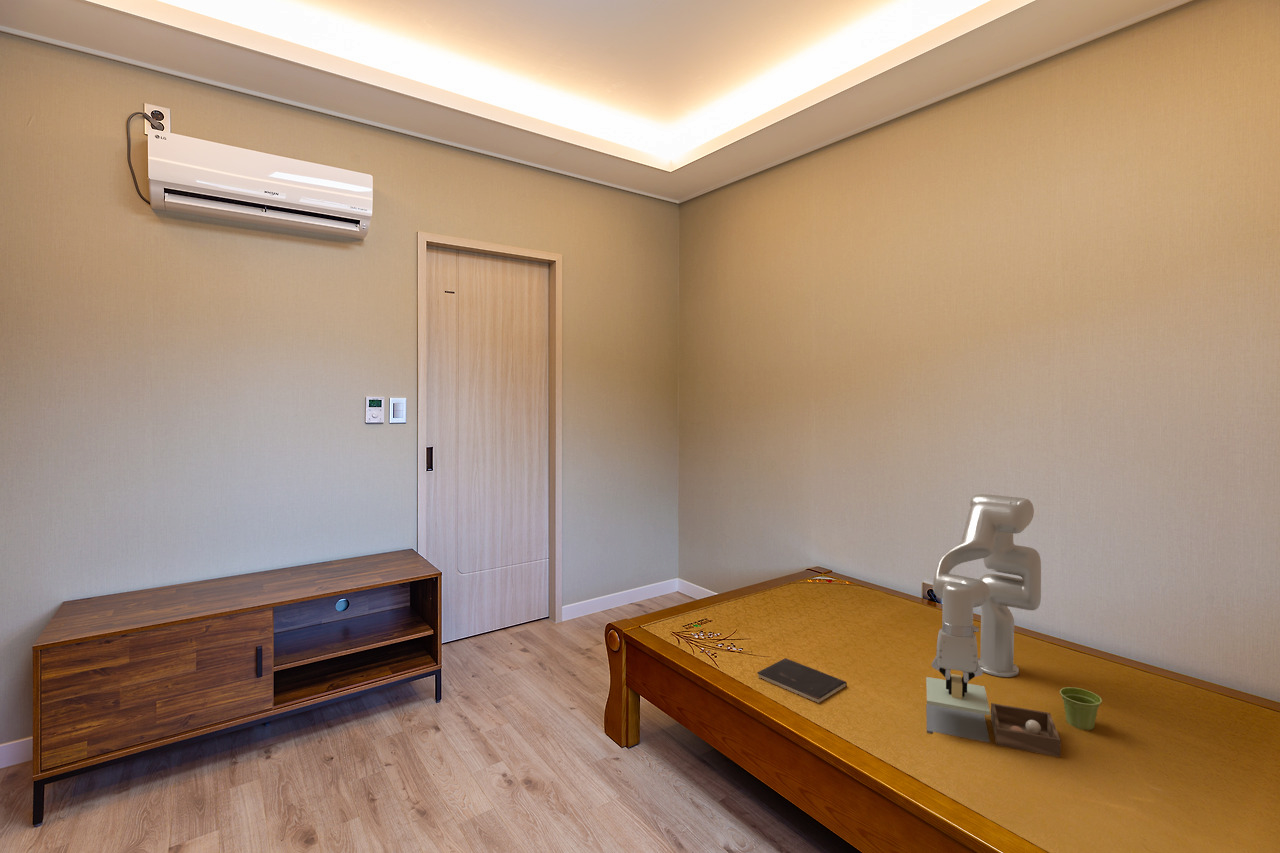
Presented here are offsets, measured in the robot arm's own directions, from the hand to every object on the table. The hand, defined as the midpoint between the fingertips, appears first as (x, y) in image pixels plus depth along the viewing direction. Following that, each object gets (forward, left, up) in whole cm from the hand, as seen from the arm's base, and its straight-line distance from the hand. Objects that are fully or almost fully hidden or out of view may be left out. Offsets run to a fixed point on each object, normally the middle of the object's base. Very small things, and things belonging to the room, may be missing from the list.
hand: (956, 692), depth 171 cm
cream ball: (-2, +19, -9) cm, 21 cm away
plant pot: (-12, +31, -9) cm, 35 cm away
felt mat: (0, 0, -9) cm, 9 cm away
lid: (0, 0, -1) cm, 1 cm away
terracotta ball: (+3, +14, -9) cm, 17 cm away
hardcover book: (-9, -44, -10) cm, 46 cm away
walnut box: (+1, +16, -9) cm, 19 cm away
